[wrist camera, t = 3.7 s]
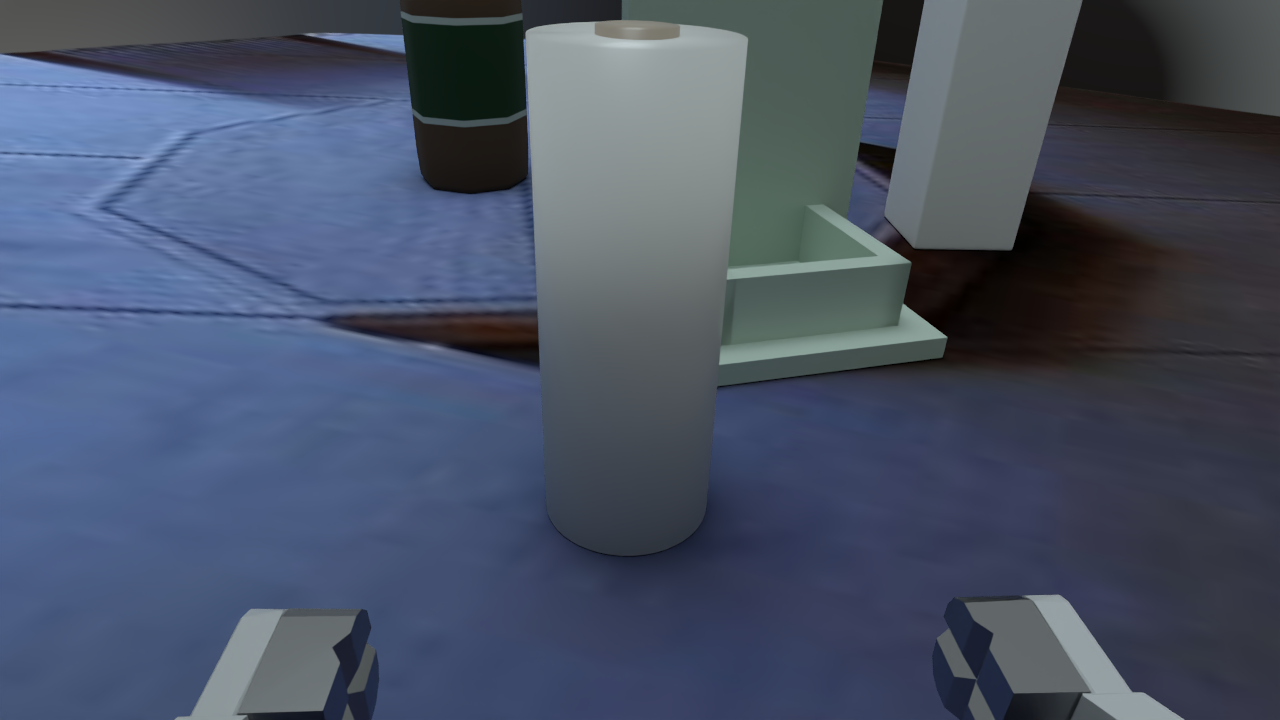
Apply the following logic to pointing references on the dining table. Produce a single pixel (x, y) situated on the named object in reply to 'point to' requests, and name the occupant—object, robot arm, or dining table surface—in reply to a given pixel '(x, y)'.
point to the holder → (803, 196)
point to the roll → (631, 269)
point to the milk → (976, 119)
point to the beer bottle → (467, 92)
